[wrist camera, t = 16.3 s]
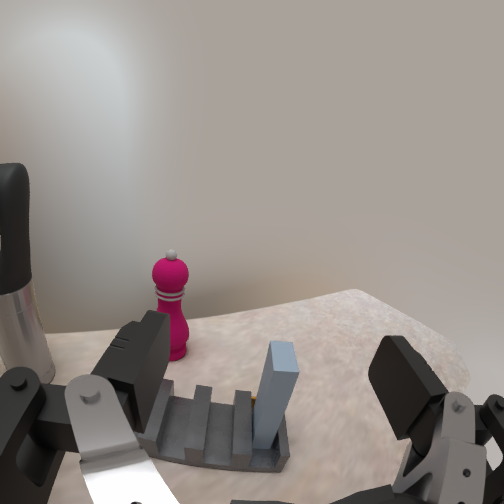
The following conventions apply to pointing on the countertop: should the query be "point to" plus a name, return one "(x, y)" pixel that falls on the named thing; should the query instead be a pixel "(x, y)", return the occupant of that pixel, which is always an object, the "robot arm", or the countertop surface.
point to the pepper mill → (172, 299)
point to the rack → (209, 432)
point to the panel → (273, 393)
